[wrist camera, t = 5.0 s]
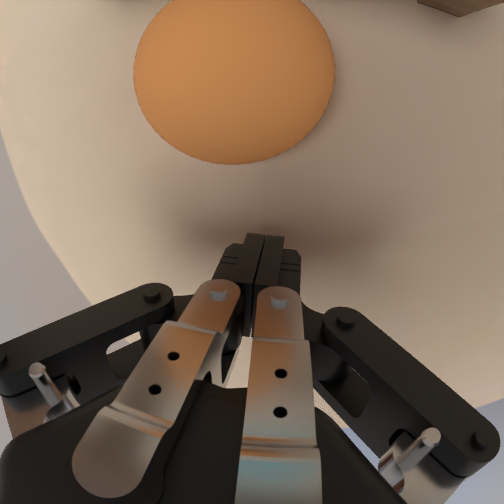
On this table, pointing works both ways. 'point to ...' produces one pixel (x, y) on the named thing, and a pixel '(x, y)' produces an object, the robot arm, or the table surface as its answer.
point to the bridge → (460, 5)
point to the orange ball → (234, 77)
